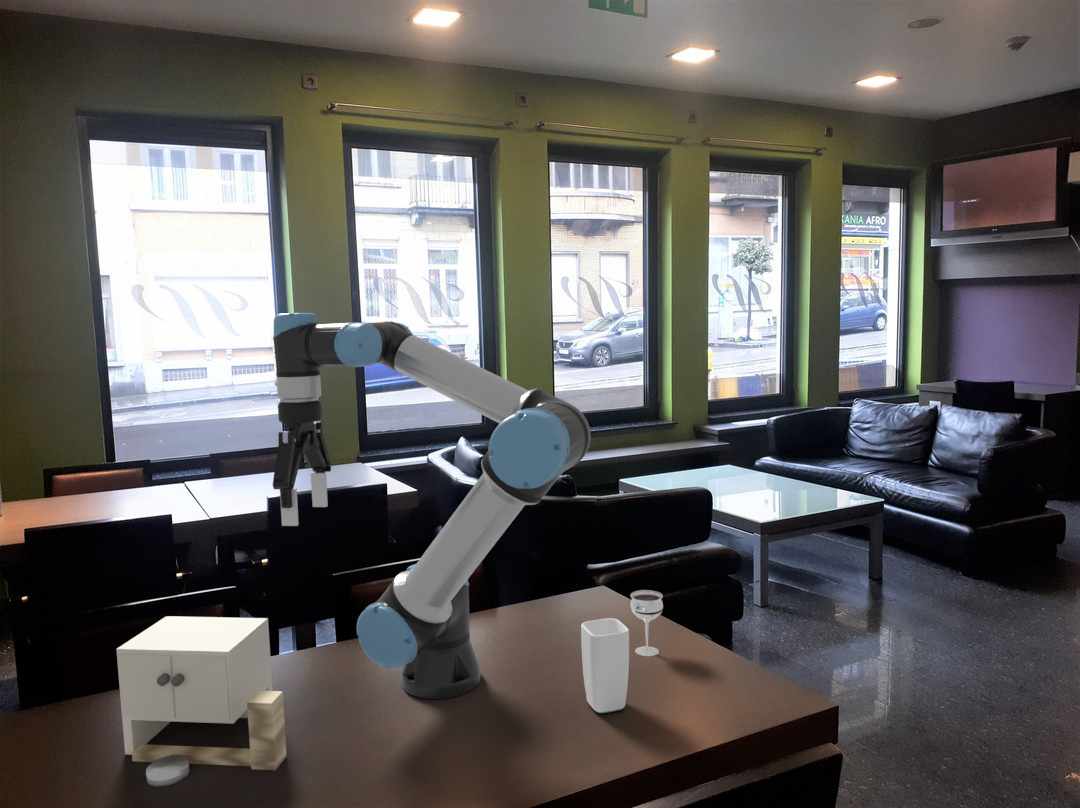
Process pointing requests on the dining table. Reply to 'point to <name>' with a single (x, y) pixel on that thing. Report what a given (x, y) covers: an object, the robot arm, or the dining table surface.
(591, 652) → the cup
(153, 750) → the l-shaped wooden piece
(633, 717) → the dining table surface
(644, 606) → the wineglass
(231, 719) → the cabinet
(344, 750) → the dining table surface
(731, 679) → the dining table surface
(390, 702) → the dining table surface
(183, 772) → the disc
